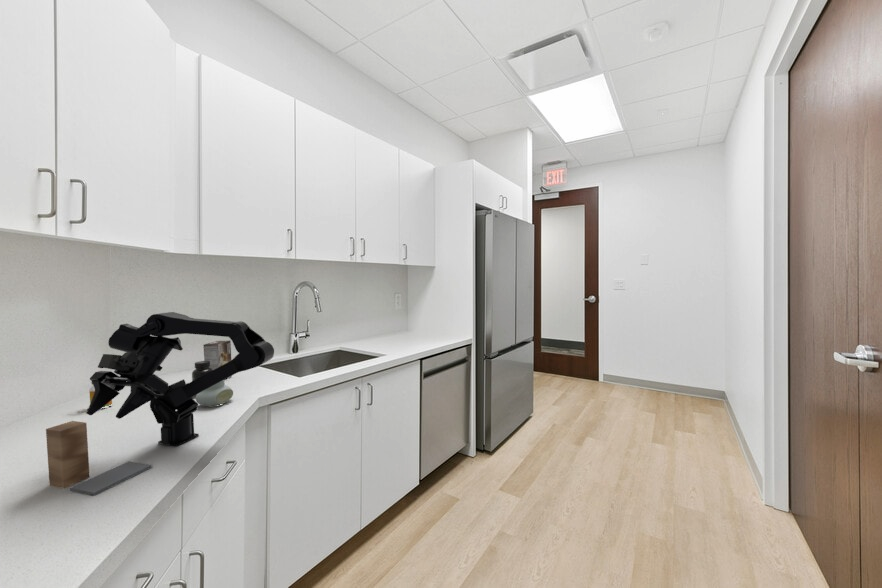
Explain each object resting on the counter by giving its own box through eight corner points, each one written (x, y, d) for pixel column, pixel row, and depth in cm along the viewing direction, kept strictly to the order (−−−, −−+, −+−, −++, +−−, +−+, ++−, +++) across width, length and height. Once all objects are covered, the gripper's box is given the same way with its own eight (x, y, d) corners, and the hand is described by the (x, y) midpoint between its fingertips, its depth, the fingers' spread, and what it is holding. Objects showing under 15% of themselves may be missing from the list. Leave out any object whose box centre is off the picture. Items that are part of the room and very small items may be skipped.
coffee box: (218, 376, 160) (216, 340, 159) (232, 376, 160) (231, 340, 159) (204, 382, 151) (202, 344, 150) (220, 382, 151) (218, 344, 150)
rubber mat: (129, 463, 84) (128, 461, 84) (151, 467, 83) (151, 464, 82) (69, 490, 74) (69, 487, 74) (94, 495, 72) (94, 492, 72)
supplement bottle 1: (93, 411, 119) (92, 382, 118) (88, 408, 121) (86, 380, 121) (114, 406, 123) (113, 378, 123) (109, 404, 126) (107, 376, 126)
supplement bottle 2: (190, 394, 136) (188, 362, 135) (210, 389, 141) (209, 359, 140) (196, 397, 131) (194, 365, 131) (217, 393, 136) (216, 361, 136)
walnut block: (75, 474, 80) (72, 420, 80) (89, 476, 79) (86, 422, 78) (49, 485, 76) (45, 429, 75) (64, 488, 75) (60, 431, 74)
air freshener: (210, 410, 118) (209, 380, 118) (191, 408, 120) (189, 378, 120) (237, 399, 129) (236, 371, 128) (219, 397, 131) (218, 370, 131)
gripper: (96, 338, 90) (40, 397, 80) (153, 340, 85) (101, 403, 75) (132, 362, 98) (86, 418, 88) (186, 365, 93) (144, 425, 83)
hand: (102, 416), depth 83 cm, fingers open, 9 cm apart
